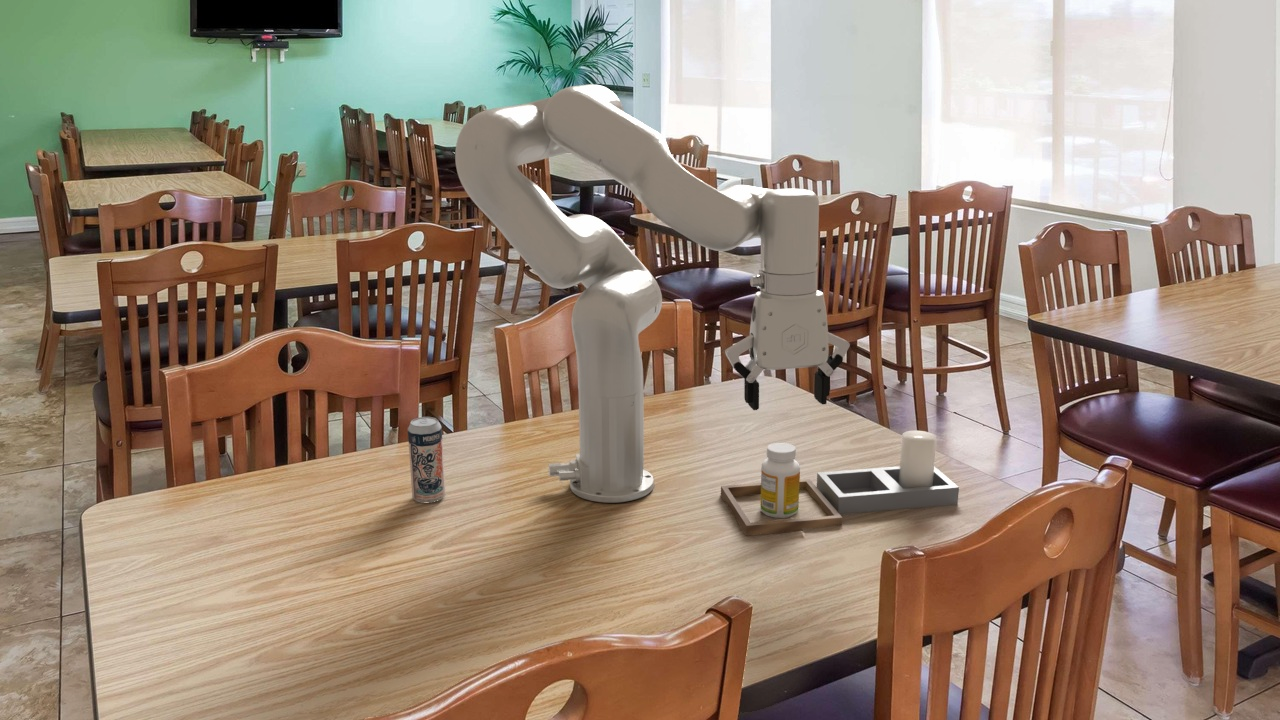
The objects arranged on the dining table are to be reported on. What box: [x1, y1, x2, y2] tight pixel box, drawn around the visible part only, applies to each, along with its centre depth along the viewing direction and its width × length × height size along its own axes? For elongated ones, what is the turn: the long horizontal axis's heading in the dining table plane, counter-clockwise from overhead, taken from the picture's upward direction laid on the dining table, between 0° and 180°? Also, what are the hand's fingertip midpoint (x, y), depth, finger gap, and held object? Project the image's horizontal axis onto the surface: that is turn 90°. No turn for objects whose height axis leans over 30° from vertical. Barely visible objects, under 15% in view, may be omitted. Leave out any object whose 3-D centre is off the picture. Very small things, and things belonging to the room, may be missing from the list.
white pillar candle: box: [899, 430, 937, 489], centre depth 157 cm, size 5×5×9 cm
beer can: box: [407, 416, 447, 503], centre depth 157 cm, size 5×5×12 cm
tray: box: [720, 478, 843, 537], centre depth 154 cm, size 14×14×2 cm
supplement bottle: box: [760, 442, 801, 519], centre depth 153 cm, size 5×5×10 cm
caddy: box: [816, 465, 960, 515], centre depth 158 cm, size 18×9×3 cm, turn 100°
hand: (786, 404), depth 149 cm, fingers open, 9 cm apart
